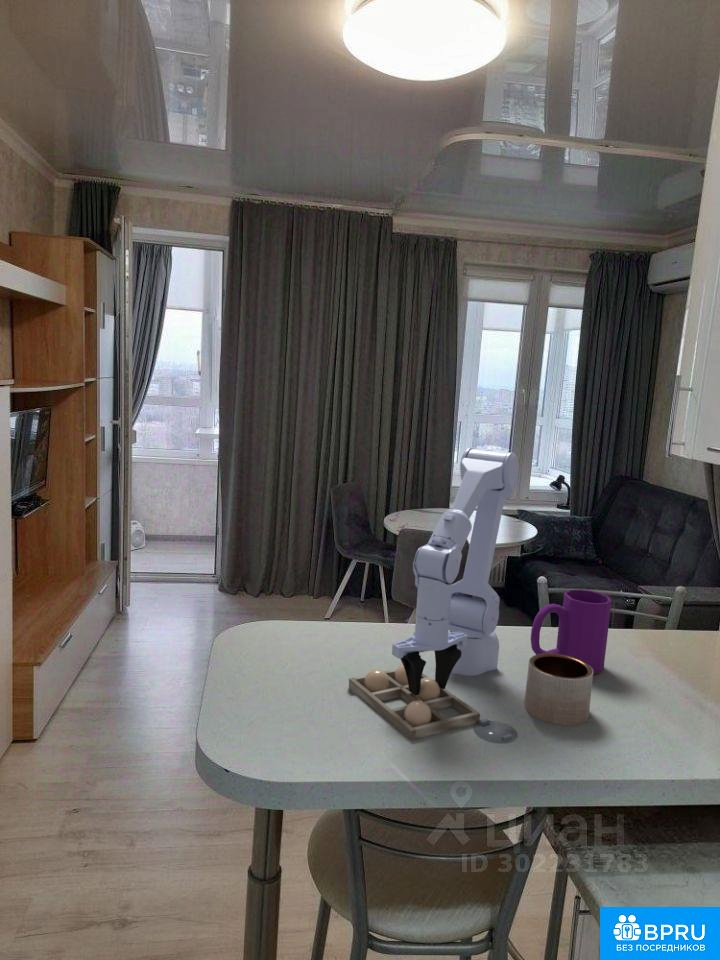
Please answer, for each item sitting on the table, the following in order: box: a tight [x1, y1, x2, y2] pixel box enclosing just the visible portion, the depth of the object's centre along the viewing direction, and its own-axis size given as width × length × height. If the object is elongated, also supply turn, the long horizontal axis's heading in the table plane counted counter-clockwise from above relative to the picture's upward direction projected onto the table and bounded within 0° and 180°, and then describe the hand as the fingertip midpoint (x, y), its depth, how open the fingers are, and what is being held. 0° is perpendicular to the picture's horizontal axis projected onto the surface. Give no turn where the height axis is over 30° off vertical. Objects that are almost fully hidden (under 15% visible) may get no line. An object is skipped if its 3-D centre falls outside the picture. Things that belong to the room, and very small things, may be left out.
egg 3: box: [404, 700, 431, 727], centre depth 112 cm, size 4×4×4 cm
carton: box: [348, 668, 481, 741], centre depth 120 cm, size 14×20×3 cm
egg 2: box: [395, 664, 408, 686], centre depth 127 cm, size 4×4×4 cm
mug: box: [530, 589, 612, 675], centre depth 142 cm, size 9×16×15 cm, turn 96°
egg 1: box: [364, 668, 389, 693], centre depth 123 cm, size 4×4×4 cm
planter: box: [523, 653, 594, 726], centre depth 120 cm, size 11×11×10 cm
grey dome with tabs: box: [473, 718, 519, 744], centre depth 112 cm, size 7×7×2 cm
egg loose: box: [415, 677, 440, 702], centre depth 121 cm, size 4×4×4 cm
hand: (427, 689), depth 121 cm, fingers open, 5 cm apart
